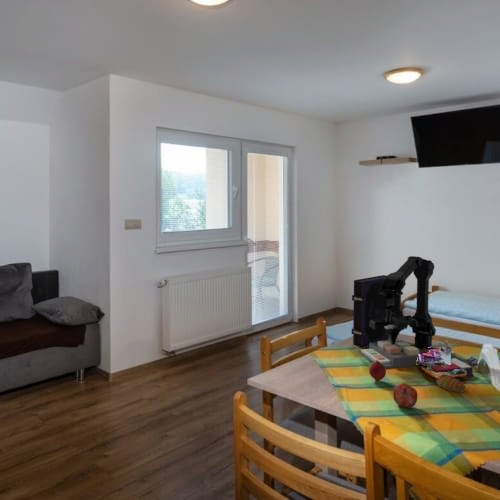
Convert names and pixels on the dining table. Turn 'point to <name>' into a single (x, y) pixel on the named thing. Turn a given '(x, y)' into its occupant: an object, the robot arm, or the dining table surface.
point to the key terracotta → (392, 349)
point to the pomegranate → (405, 395)
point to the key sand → (411, 350)
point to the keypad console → (388, 357)
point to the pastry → (450, 383)
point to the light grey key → (383, 344)
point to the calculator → (454, 367)
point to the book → (367, 311)
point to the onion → (377, 371)
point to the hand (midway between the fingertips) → (392, 344)
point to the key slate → (396, 340)
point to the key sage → (402, 345)
